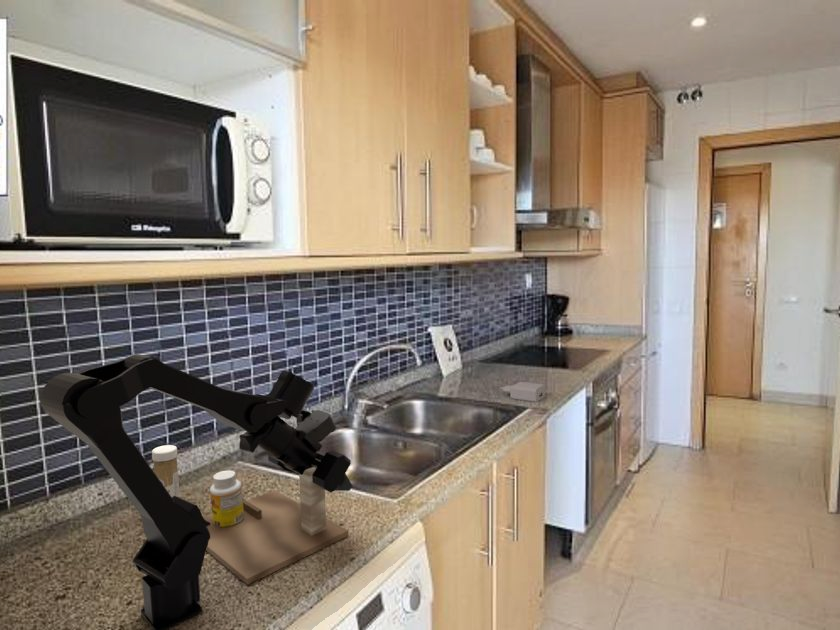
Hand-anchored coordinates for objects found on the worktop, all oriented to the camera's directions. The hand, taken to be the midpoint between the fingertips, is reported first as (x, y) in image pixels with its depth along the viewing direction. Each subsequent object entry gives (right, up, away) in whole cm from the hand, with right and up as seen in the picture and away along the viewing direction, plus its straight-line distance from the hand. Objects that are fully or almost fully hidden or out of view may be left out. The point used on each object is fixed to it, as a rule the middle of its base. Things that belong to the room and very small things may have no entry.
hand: (335, 480), depth 102 cm
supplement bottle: (-20, -9, +1) cm, 22 cm away
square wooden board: (-13, -9, -2) cm, 16 cm away
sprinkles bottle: (-35, -9, +7) cm, 36 cm away
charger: (+51, +2, +89) cm, 103 cm away
